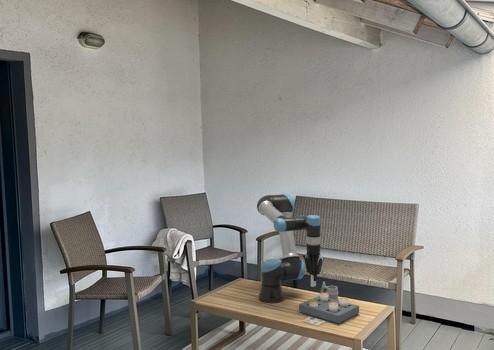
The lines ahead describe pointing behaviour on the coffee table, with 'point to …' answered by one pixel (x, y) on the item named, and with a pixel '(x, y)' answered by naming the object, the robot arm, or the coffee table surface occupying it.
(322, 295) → the button
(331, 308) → the button
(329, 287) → the mug
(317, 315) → the console
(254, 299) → the coffee table surface
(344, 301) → the button
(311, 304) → the button
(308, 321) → the card
